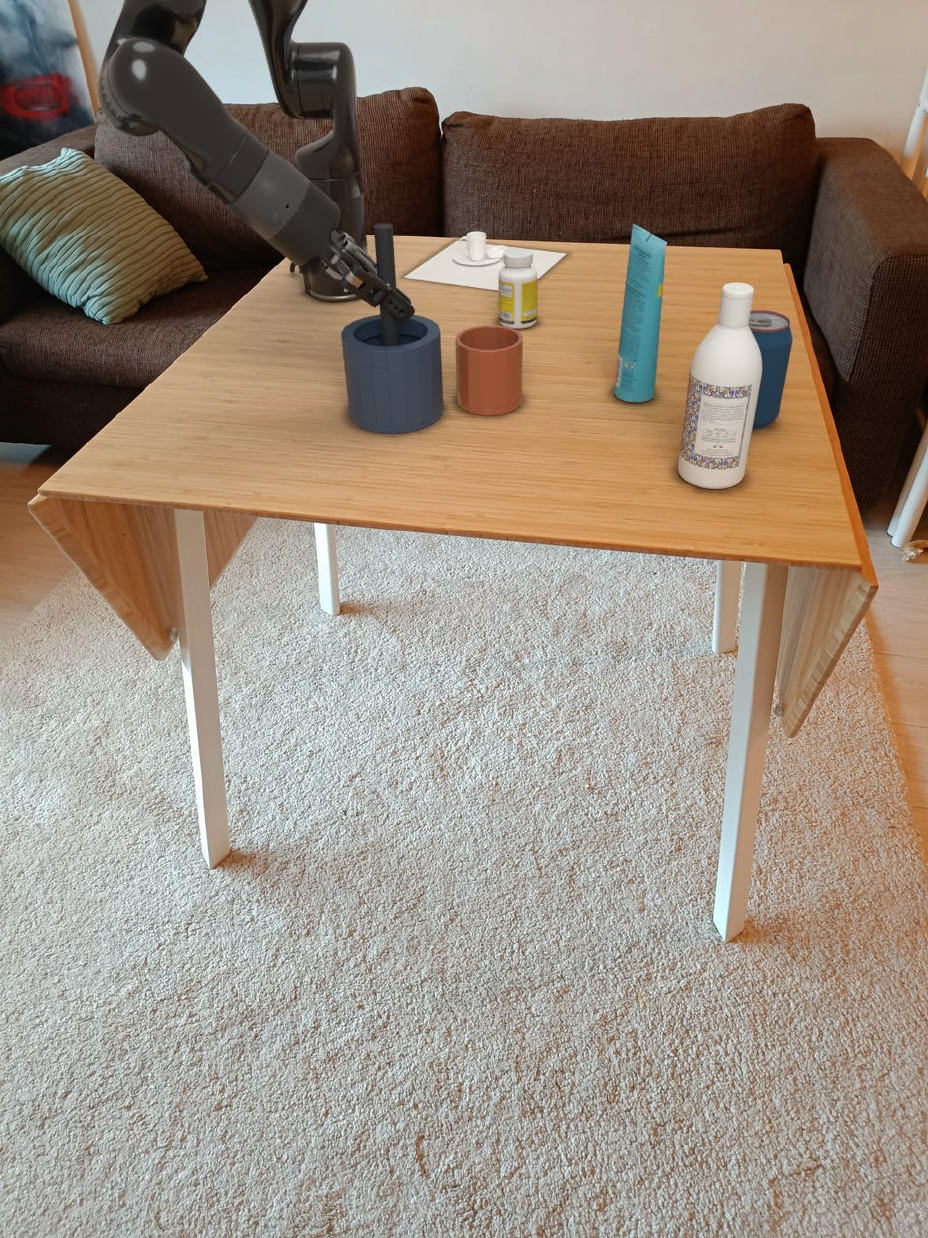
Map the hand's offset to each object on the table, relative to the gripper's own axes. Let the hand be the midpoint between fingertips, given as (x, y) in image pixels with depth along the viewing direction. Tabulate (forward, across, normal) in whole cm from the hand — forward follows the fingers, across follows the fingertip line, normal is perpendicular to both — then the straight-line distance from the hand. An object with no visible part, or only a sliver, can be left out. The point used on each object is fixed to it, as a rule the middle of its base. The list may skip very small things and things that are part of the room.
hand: (407, 312), depth 111 cm
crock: (+15, 0, +2) cm, 15 cm away
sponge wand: (+5, 0, +8) cm, 10 cm away
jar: (+7, 0, +10) cm, 12 cm away
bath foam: (+29, -23, -11) cm, 38 cm away
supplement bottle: (+22, +24, -5) cm, 33 cm away
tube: (+28, -2, -10) cm, 30 cm away
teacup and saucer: (+23, +49, -6) cm, 54 cm away
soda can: (+35, -12, -18) cm, 41 cm away
